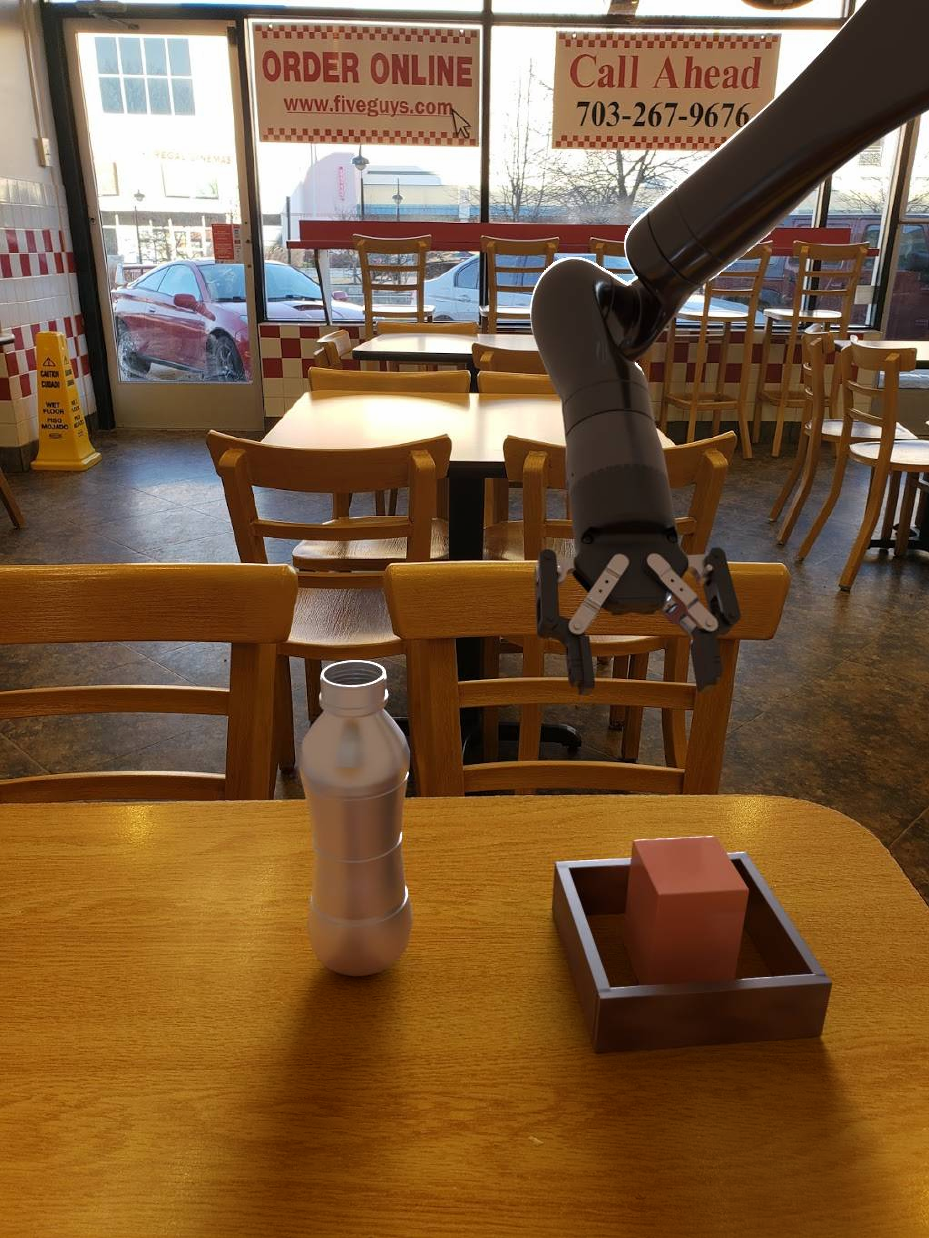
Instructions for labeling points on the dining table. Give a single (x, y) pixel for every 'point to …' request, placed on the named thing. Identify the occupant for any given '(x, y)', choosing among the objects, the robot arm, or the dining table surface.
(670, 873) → the red rectangular block
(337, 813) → the plastic bottle
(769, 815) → the dining table surface
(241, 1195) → the dining table surface
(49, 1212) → the dining table surface
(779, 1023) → the dark brown wooden tray
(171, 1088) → the dining table surface
